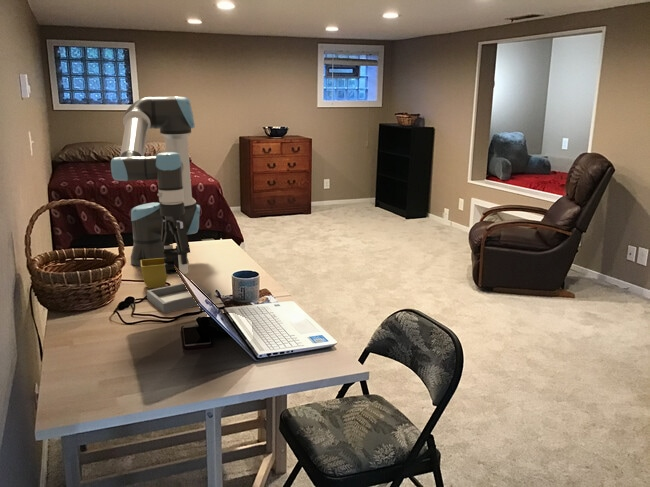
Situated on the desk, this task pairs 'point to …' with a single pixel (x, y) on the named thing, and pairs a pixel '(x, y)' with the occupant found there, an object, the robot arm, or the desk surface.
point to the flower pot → (153, 272)
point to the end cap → (171, 260)
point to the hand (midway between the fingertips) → (176, 268)
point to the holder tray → (173, 297)
